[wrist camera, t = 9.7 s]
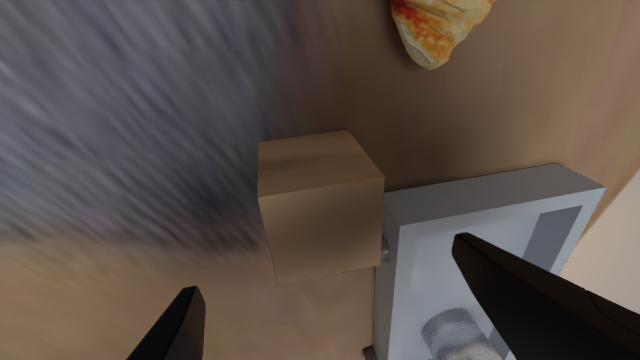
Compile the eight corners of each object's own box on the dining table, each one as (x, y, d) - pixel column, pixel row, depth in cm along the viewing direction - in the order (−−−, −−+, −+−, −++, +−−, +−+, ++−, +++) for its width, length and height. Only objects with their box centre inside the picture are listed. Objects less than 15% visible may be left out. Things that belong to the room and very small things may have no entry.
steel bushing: (464, 334, 25) (507, 399, 21) (418, 345, 24) (452, 415, 20) (475, 303, 23) (525, 369, 18) (424, 315, 22) (463, 386, 18)
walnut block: (349, 201, 16) (380, 264, 12) (273, 214, 16) (278, 285, 12) (347, 129, 14) (384, 176, 10) (258, 141, 14) (257, 197, 9)
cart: (494, 336, 28) (517, 367, 26) (362, 368, 27) (372, 406, 24) (570, 160, 18) (622, 184, 15) (362, 196, 16) (380, 229, 14)
